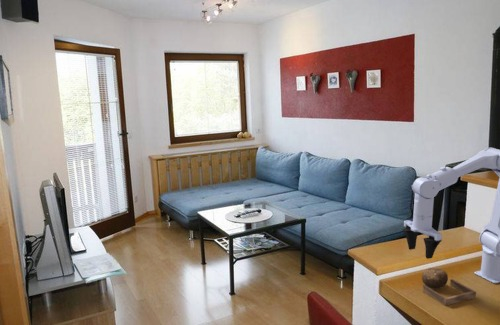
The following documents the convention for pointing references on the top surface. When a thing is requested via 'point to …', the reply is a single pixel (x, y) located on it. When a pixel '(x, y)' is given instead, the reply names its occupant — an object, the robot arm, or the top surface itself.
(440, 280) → the mushroom
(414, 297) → the top surface
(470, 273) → the top surface
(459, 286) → the walnut frame
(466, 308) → the top surface
